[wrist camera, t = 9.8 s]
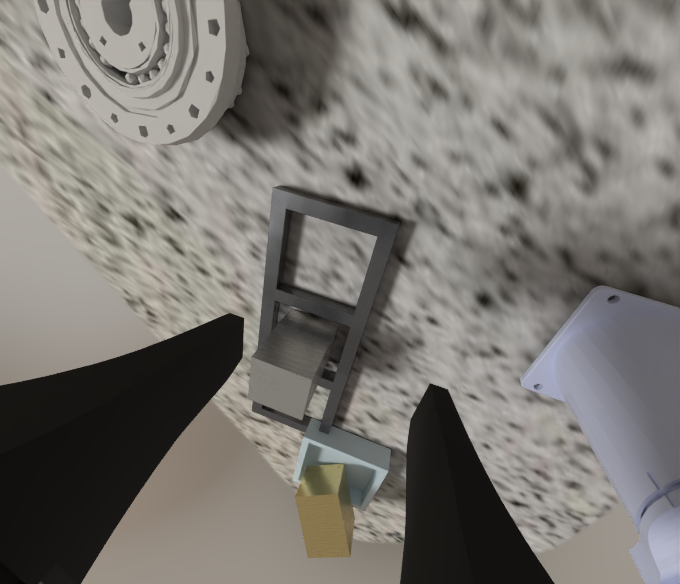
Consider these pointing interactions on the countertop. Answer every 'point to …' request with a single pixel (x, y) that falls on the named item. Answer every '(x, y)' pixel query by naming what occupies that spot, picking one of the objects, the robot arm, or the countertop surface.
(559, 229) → the countertop surface
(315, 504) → the tan wooden post
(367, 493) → the parts tray
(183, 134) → the mechanical component
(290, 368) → the grey block
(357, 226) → the rail
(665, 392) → the robot arm
